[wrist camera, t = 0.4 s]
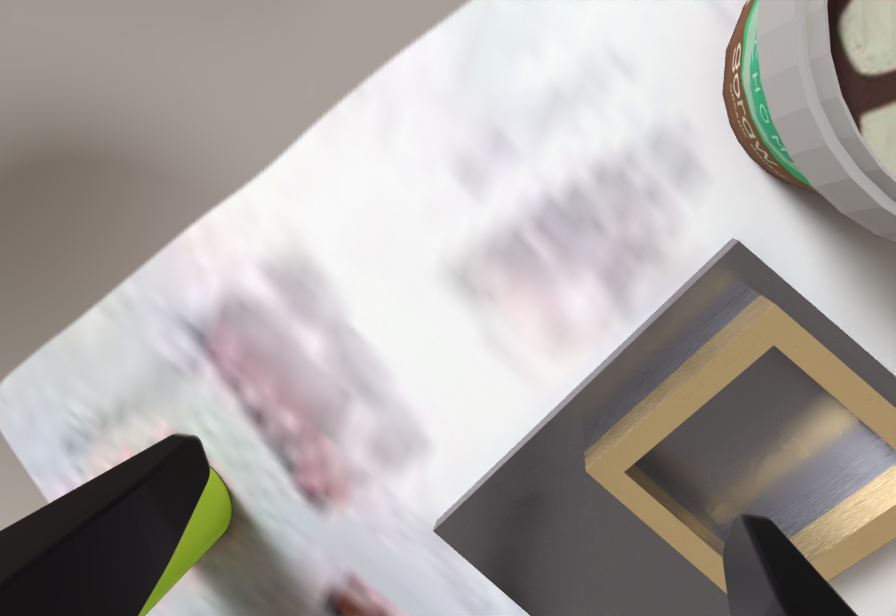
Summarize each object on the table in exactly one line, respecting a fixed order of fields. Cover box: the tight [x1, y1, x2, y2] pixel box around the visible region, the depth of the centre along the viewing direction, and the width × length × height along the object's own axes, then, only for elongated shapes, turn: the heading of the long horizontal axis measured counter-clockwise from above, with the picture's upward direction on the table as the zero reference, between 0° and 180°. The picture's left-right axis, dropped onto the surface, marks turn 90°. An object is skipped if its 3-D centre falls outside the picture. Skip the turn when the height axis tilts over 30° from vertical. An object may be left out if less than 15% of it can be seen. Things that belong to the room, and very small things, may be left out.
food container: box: [723, 0, 896, 243], centre depth 15 cm, size 12×6×10 cm, turn 35°
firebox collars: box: [433, 238, 896, 616], centre depth 22 cm, size 19×12×4 cm, turn 140°
